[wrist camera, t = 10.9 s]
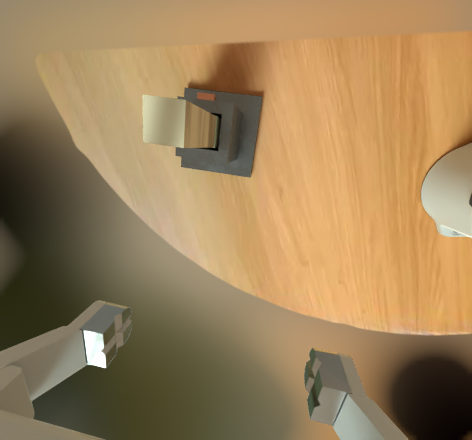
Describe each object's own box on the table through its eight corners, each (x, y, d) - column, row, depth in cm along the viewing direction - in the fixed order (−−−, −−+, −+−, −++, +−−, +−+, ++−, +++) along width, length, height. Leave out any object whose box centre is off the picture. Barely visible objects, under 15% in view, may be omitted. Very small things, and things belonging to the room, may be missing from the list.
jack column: (223, 119, 34) (186, 99, 19) (220, 147, 35) (184, 148, 20) (198, 116, 34) (142, 93, 19) (196, 144, 36) (142, 142, 21)
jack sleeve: (262, 98, 39) (259, 80, 29) (250, 176, 44) (244, 186, 33) (187, 89, 41) (157, 69, 30) (183, 166, 45) (156, 172, 35)
